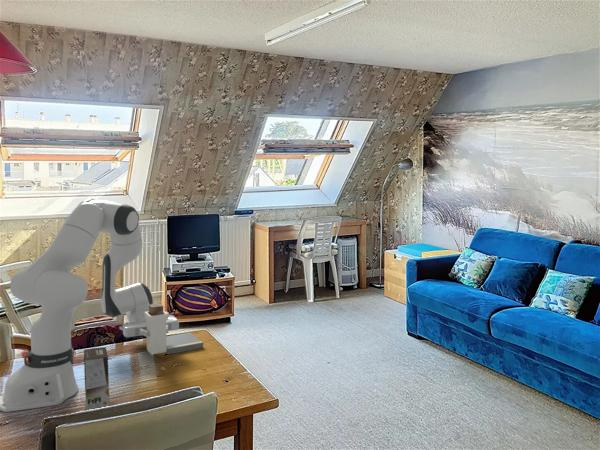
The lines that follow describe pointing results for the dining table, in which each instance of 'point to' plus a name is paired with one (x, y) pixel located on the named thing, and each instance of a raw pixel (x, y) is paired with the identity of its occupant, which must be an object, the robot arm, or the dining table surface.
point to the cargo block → (155, 309)
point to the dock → (182, 343)
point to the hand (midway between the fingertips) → (157, 332)
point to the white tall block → (156, 332)
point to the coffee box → (96, 378)
